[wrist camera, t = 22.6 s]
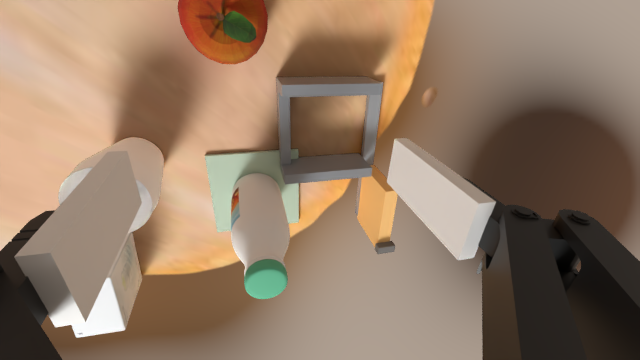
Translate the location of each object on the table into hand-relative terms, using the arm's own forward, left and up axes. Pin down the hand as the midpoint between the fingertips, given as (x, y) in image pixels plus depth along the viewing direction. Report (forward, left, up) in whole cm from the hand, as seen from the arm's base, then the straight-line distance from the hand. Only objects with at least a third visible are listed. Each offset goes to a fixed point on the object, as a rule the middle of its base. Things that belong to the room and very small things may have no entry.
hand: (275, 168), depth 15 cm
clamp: (+13, +11, -30) cm, 35 cm away
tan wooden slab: (+20, +18, -29) cm, 40 cm away
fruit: (-7, -3, -30) cm, 31 cm away
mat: (+18, -1, -30) cm, 35 cm away
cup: (+11, -17, -30) cm, 36 cm away
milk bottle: (+18, -1, -30) cm, 35 cm away
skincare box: (+28, -24, -30) cm, 48 cm away
